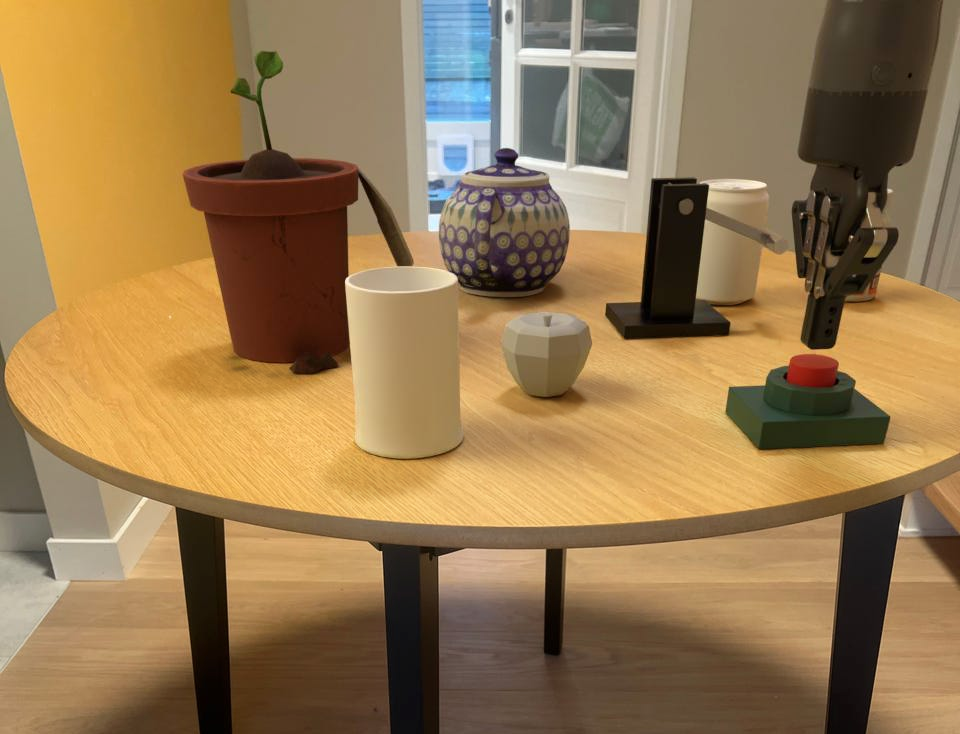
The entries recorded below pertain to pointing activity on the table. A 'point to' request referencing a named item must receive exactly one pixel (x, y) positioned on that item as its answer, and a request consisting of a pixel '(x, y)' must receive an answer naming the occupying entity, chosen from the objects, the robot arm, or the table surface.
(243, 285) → the potted plant
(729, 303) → the beverage can
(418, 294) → the mug
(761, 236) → the lever
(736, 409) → the button box
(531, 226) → the teapot
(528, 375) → the apple
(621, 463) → the table surface
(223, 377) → the table surface
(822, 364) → the button
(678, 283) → the bracket
